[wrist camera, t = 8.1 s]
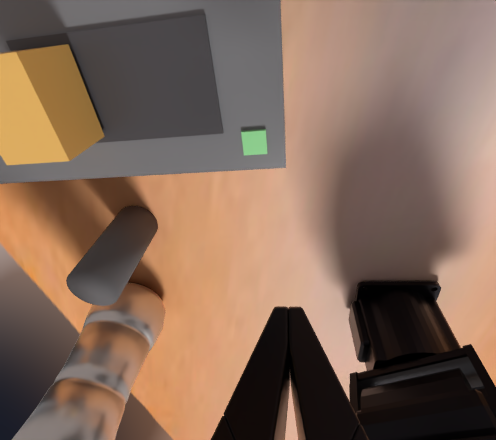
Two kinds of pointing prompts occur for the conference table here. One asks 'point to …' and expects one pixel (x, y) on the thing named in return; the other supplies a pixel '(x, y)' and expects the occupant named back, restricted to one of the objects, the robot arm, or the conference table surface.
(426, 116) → the conference table surface
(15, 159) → the toggle amber
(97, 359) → the plastic bottle
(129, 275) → the cylinder
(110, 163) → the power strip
